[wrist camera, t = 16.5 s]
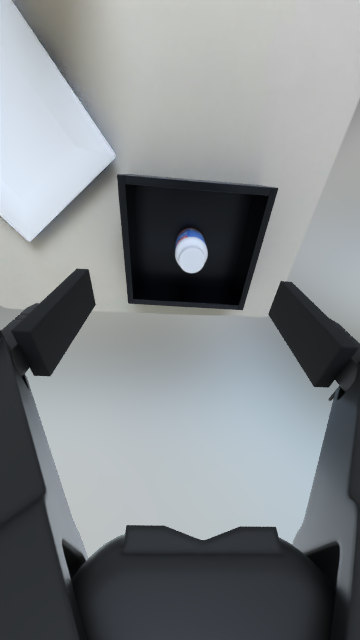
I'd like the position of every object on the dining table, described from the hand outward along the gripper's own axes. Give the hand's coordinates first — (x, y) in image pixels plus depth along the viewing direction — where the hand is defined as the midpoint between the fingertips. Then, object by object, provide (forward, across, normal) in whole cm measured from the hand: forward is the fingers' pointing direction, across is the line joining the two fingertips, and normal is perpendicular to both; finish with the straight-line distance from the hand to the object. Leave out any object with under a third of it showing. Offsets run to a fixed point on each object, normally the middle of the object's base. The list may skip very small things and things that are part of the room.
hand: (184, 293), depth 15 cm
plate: (+29, -26, +10) cm, 40 cm away
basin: (+29, +2, -4) cm, 29 cm away
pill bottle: (+28, +2, -4) cm, 28 cm away
